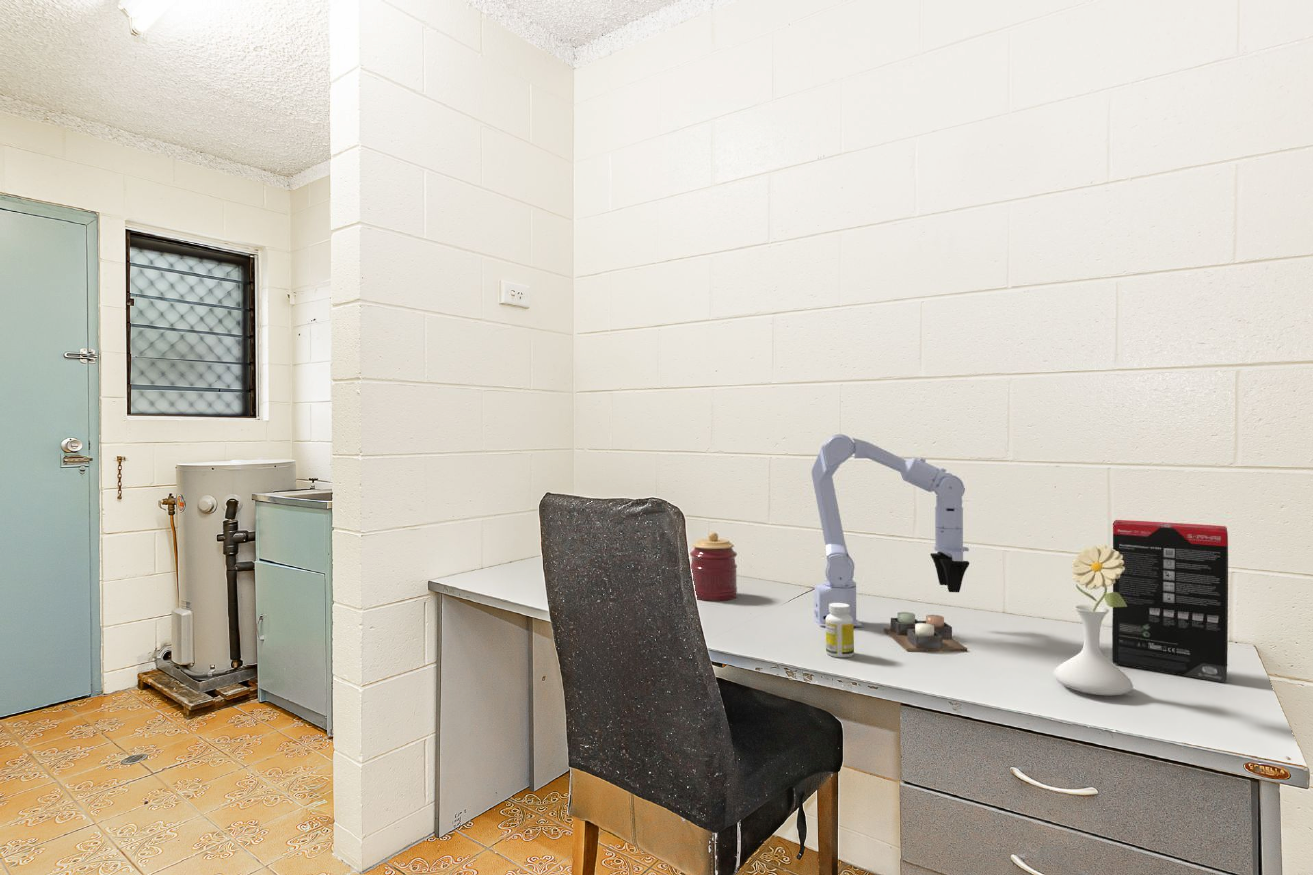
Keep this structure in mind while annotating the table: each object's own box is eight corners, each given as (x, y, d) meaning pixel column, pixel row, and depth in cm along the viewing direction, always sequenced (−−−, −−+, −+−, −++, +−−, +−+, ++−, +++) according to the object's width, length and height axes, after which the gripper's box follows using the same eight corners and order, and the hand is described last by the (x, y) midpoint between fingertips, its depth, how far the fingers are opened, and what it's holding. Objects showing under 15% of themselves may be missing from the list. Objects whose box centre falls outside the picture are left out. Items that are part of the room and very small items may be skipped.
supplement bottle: (854, 651, 137) (854, 602, 137) (853, 659, 132) (852, 609, 132) (826, 649, 139) (826, 601, 139) (824, 656, 134) (824, 606, 134)
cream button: (919, 640, 138) (918, 627, 138) (912, 635, 142) (912, 623, 142) (936, 640, 138) (936, 627, 138) (930, 635, 142) (930, 623, 142)
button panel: (907, 651, 137) (907, 636, 137) (884, 631, 152) (884, 617, 152) (967, 651, 137) (967, 636, 137) (938, 631, 152) (938, 617, 152)
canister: (744, 600, 183) (743, 534, 183) (697, 602, 180) (697, 536, 180) (728, 590, 196) (727, 528, 196) (684, 592, 193) (684, 530, 193)
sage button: (900, 628, 148) (900, 616, 148) (895, 623, 151) (895, 612, 151) (917, 628, 147) (917, 616, 148) (911, 623, 151) (911, 612, 151)
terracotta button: (929, 631, 145) (929, 619, 145) (923, 626, 149) (923, 614, 149) (946, 631, 145) (946, 619, 145) (940, 626, 149) (940, 614, 149)
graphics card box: (1228, 675, 123) (1226, 523, 123) (1231, 685, 117) (1228, 527, 118) (1114, 657, 133) (1112, 517, 133) (1111, 666, 128) (1110, 521, 128)
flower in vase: (1038, 679, 121) (1037, 538, 121) (1099, 677, 122) (1098, 537, 122) (1091, 707, 108) (1089, 549, 108) (1159, 705, 109) (1157, 548, 109)
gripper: (977, 532, 145) (978, 596, 145) (958, 524, 159) (958, 582, 159) (943, 531, 146) (943, 594, 146) (927, 523, 160) (927, 581, 160)
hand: (949, 588), depth 153 cm, fingers open, 7 cm apart
